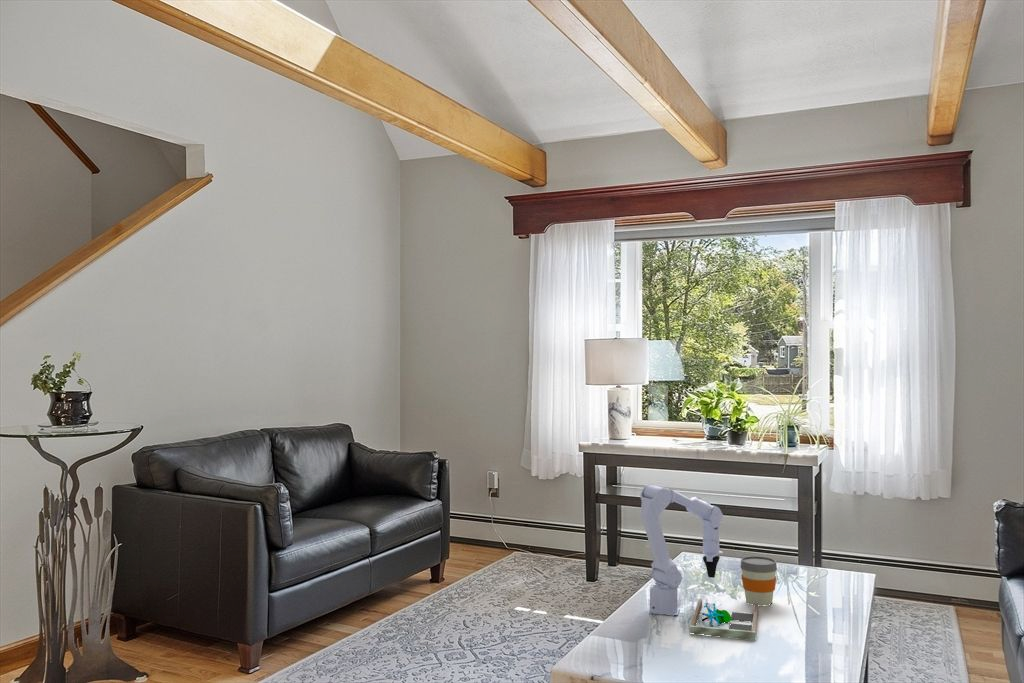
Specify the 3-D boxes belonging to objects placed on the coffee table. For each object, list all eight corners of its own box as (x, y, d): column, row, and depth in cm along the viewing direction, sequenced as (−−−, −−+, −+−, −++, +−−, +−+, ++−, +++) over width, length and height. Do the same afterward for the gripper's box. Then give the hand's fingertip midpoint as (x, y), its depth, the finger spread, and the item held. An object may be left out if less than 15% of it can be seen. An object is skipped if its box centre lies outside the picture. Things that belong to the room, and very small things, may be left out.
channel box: (690, 634, 264) (690, 626, 264) (699, 606, 293) (699, 599, 293) (755, 640, 258) (755, 632, 258) (758, 611, 286) (758, 603, 286)
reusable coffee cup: (738, 605, 293) (738, 563, 293) (743, 595, 304) (742, 554, 305) (776, 609, 288) (775, 566, 288) (778, 599, 300) (778, 557, 300)
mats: (728, 632, 266) (728, 631, 266) (732, 612, 285) (732, 612, 285) (751, 634, 264) (750, 633, 264) (753, 614, 283) (753, 613, 283)
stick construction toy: (709, 623, 268) (704, 600, 273) (695, 631, 272) (690, 607, 277) (736, 627, 273) (730, 604, 278) (721, 635, 278) (716, 612, 283)
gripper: (721, 544, 288) (721, 583, 288) (724, 535, 301) (724, 572, 301) (700, 542, 290) (700, 581, 290) (704, 534, 304) (704, 571, 304)
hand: (711, 577), depth 296 cm, fingers closed
